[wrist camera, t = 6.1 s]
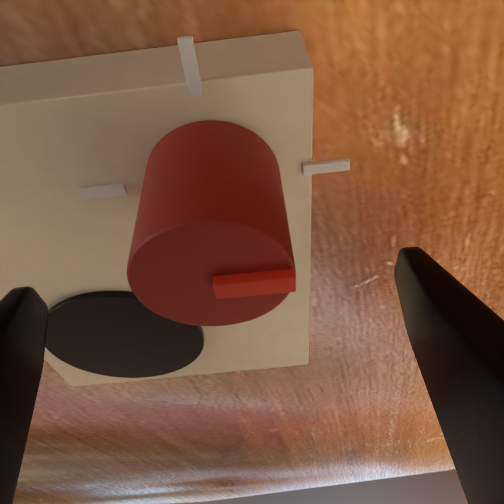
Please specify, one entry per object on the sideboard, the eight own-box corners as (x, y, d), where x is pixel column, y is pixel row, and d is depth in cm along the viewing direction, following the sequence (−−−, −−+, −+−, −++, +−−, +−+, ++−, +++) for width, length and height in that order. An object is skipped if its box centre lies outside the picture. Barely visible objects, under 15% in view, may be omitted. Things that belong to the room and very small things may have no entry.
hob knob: (164, 231, 14) (150, 343, 11) (128, 126, 11) (97, 242, 8) (281, 219, 14) (298, 329, 11) (277, 111, 11) (297, 223, 8)
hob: (-165, 44, 12) (-235, 89, 10) (341, -20, 11) (365, 16, 9) (81, 346, 24) (70, 390, 22) (321, 322, 24) (329, 365, 22)
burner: (8, 300, 16) (5, 306, 16) (186, 282, 16) (185, 287, 16) (80, 378, 22) (79, 383, 22) (215, 365, 22) (215, 371, 21)
